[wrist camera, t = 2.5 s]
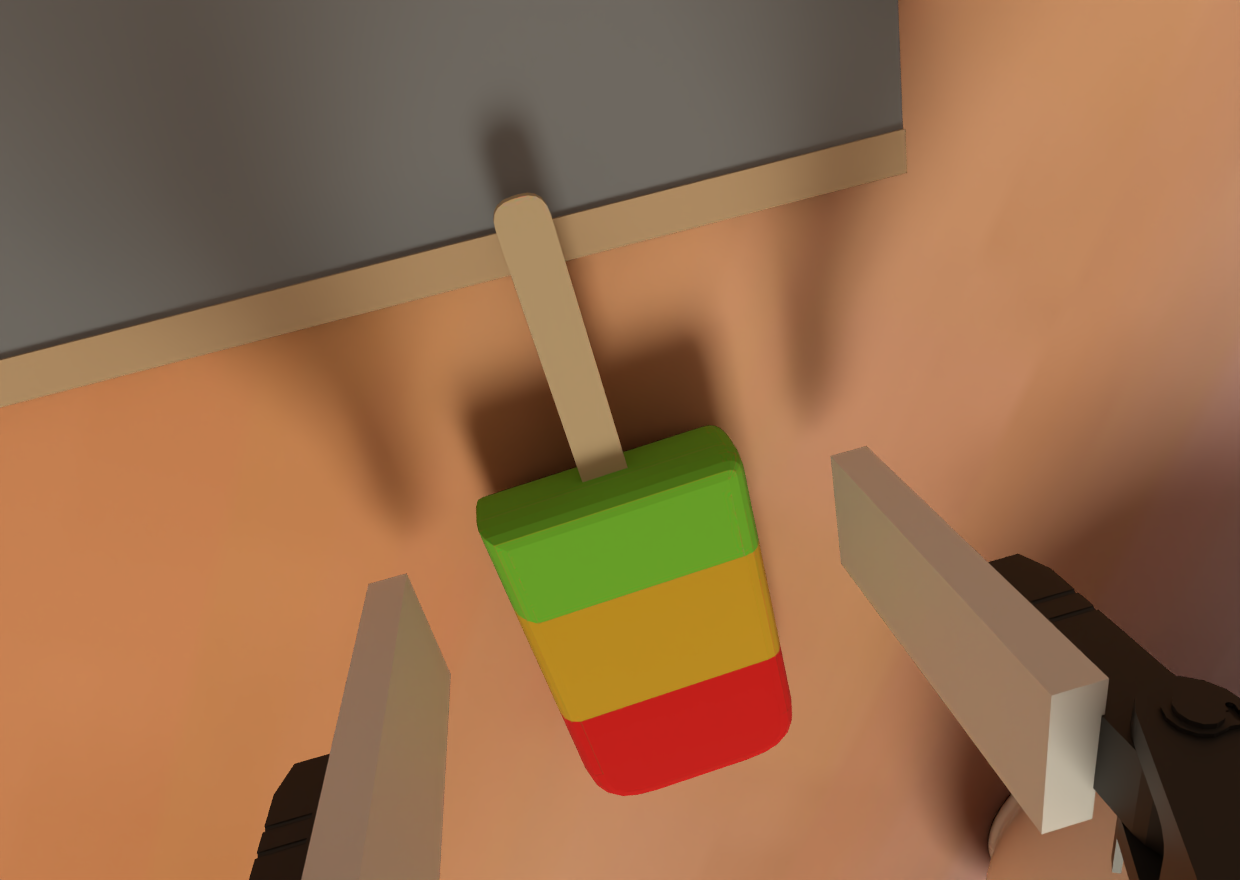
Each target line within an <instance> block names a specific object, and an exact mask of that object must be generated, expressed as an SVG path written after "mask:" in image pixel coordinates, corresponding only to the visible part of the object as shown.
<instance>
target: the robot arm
mask: <svg viewBox="0 0 1240 880" xmlns="http://www.w3.org/2000/svg"><path fill="white" fill-rule="evenodd" d="M831 465H832V475H833V485H834V496H835V506H836V516H837V527H838V537H839V547H840V557H841V564H842V565H843V566H844V568H845V569H846V571H847V572H848V573H849V575H850V576H851V577H852V579H853V580H854V581H855V583H856V584H857V585H858V587H859V588H860V589H861V591H862V592H863V594H864V595H865V596H866V598H867V599H868V600H869V602H870V603H871V604H872V606H873V607H874V608H875V610H876V611H877V612H878V614H879V615H880V617H881V618H882V619H883V621H884V622H885V623H886V625H887V626H888V627H889V629H890V630H891V631H892V633H893V634H894V635H895V637H896V638H897V640H898V641H899V642H900V644H901V645H902V646H903V648H904V649H905V650H906V652H907V653H908V654H909V656H910V657H911V658H912V660H913V661H914V663H915V664H916V665H917V667H918V668H919V669H920V671H921V672H922V673H923V675H924V676H925V677H926V679H927V680H928V681H929V683H930V684H931V686H932V687H933V688H934V690H935V691H936V692H937V694H938V695H939V696H940V698H941V699H942V700H943V702H944V703H945V704H946V706H947V707H948V709H949V710H950V711H951V713H952V714H953V715H954V717H955V718H956V719H957V721H958V722H959V723H960V725H961V726H962V727H963V729H964V730H965V732H966V733H967V734H968V736H969V737H970V738H971V740H972V741H973V742H974V744H975V745H976V746H977V748H978V749H979V750H980V752H981V753H982V755H983V756H984V757H985V759H986V760H987V761H988V763H989V764H990V765H991V767H992V768H993V769H994V771H995V772H996V773H997V775H998V776H999V778H1000V779H1001V780H1002V782H1003V783H1004V784H1005V786H1006V787H1007V788H1008V790H1009V791H1010V792H1011V794H1012V795H1013V796H1014V798H1015V799H1016V801H1017V802H1018V803H1019V805H1020V806H1021V807H1022V809H1023V810H1024V811H1025V813H1026V814H1027V815H1028V817H1029V818H1030V819H1031V821H1032V822H1033V824H1034V825H1035V826H1036V828H1037V829H1038V830H1039V832H1040V833H1041V834H1044V833H1048V832H1051V831H1054V830H1057V829H1061V828H1064V827H1067V826H1070V825H1074V824H1077V823H1080V822H1083V821H1087V820H1090V819H1092V817H1093V808H1094V800H1095V792H1097V793H1098V794H1099V796H1100V797H1101V798H1102V799H1103V800H1104V801H1105V803H1106V804H1107V805H1108V806H1109V807H1110V808H1111V809H1112V811H1113V812H1114V813H1115V814H1116V815H1117V820H1116V827H1115V834H1114V841H1113V848H1112V855H1111V863H1112V872H1113V873H1121V872H1122V866H1123V861H1124V865H1125V868H1126V871H1127V875H1128V878H1129V880H1240V698H1239V697H1237V696H1236V695H1234V694H1233V693H1231V692H1230V691H1228V690H1227V689H1224V688H1222V687H1219V686H1217V685H1214V684H1211V683H1209V682H1206V681H1204V680H1199V679H1193V678H1187V677H1181V676H1175V675H1174V674H1173V673H1171V672H1170V671H1169V670H1168V669H1166V668H1165V667H1164V666H1163V665H1162V664H1161V663H1159V662H1158V661H1157V660H1156V659H1155V658H1154V657H1152V656H1151V655H1150V654H1149V653H1148V652H1147V651H1146V650H1144V649H1143V648H1142V647H1141V646H1140V645H1139V644H1137V643H1136V642H1135V641H1134V640H1133V639H1132V638H1130V637H1129V636H1128V635H1127V634H1126V633H1125V632H1124V631H1122V630H1121V629H1120V628H1119V627H1118V626H1117V625H1115V624H1114V623H1113V622H1112V621H1111V620H1110V619H1108V618H1107V617H1106V616H1105V615H1104V614H1103V613H1101V612H1100V611H1099V610H1095V609H1094V607H1093V605H1092V604H1091V603H1090V602H1089V601H1088V600H1086V599H1085V598H1084V597H1083V596H1082V595H1081V594H1079V593H1075V591H1074V588H1073V587H1071V586H1070V585H1069V584H1068V583H1067V582H1066V581H1064V580H1063V579H1062V578H1061V577H1060V576H1059V575H1057V574H1056V573H1055V572H1054V571H1053V570H1052V569H1050V568H1049V567H1046V566H1044V565H1042V564H1040V563H1038V562H1035V561H1033V560H1031V559H1029V558H1026V557H1024V556H1022V555H1020V554H1015V555H1012V556H1008V557H1005V558H1002V559H998V560H995V561H991V562H987V561H986V560H985V559H984V558H983V557H982V556H981V555H980V554H979V553H978V552H977V551H976V550H974V549H973V548H972V547H971V546H970V545H969V544H968V543H967V542H966V541H965V540H964V539H963V538H962V537H961V536H960V535H959V534H958V533H957V532H956V531H955V530H954V529H953V528H951V527H950V526H949V525H948V524H947V523H946V522H945V521H944V520H943V519H942V518H941V517H940V516H939V515H938V514H937V513H936V512H935V511H934V510H933V509H932V508H931V507H930V506H929V505H927V504H926V503H925V502H924V501H923V500H922V499H921V498H920V497H919V496H918V495H917V494H916V493H915V492H914V491H913V490H912V489H911V488H910V487H909V486H908V485H907V484H906V483H904V482H903V481H902V480H901V479H900V478H899V477H898V476H897V475H896V474H895V473H894V472H893V471H892V470H891V469H890V468H889V467H888V466H887V465H886V464H885V463H884V462H883V461H882V460H880V459H879V458H878V457H877V456H876V455H875V454H874V453H873V452H872V451H871V450H870V449H869V448H868V447H867V446H865V447H861V448H857V449H854V450H850V451H847V452H843V453H839V454H836V455H832V456H831ZM450 679H451V674H450V672H449V669H448V667H447V665H446V662H445V660H444V658H443V656H442V653H441V651H440V649H439V646H438V644H437V642H436V639H435V637H434V635H433V633H432V630H431V628H430V626H429V623H428V621H427V619H426V617H425V614H424V612H423V610H422V607H421V605H420V603H419V601H418V598H417V596H416V594H415V591H414V589H413V587H412V584H411V582H410V580H409V578H408V575H407V573H406V574H403V575H399V576H396V577H392V578H388V579H385V580H381V581H377V582H374V583H370V584H368V589H367V593H366V597H365V602H364V606H363V611H362V615H361V619H360V624H359V628H358V633H357V637H356V641H355V646H354V650H353V655H352V659H351V663H350V668H349V672H348V677H347V681H346V685H345V690H344V694H343V698H342V703H341V707H340V712H339V716H338V720H337V725H336V729H335V734H334V738H333V742H332V747H331V751H330V754H327V755H324V756H320V757H317V758H313V759H310V760H307V761H303V762H300V763H296V764H294V765H293V767H292V768H291V770H290V771H289V773H288V774H287V776H286V777H285V779H284V780H283V782H282V783H281V785H280V786H279V788H278V789H277V791H276V792H275V794H274V796H273V799H272V803H271V806H270V810H269V813H268V817H267V820H266V823H265V832H264V833H263V834H262V837H261V840H260V844H259V847H258V851H257V854H258V858H257V859H255V861H254V864H253V868H252V871H251V875H250V878H249V880H439V879H440V861H441V842H442V824H443V806H444V788H445V770H446V751H447V733H448V715H449V697H450Z"/></svg>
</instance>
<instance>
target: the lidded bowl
mask: <svg viewBox="0 0 1240 880" xmlns="http://www.w3.org/2000/svg"><path fill="white" fill-rule="evenodd" d="M1116 820H1117V815H1116V814H1115V813H1114V812H1113V811H1112V809H1111V808H1110V807H1109V806H1108V805H1107V804H1106V803H1105V801H1104V800H1103V799H1102V798H1101V797H1100V796H1099V794H1098V793H1097V792H1095V800H1094V808H1093V817H1092V819H1090V820H1087V821H1083V822H1080V823H1077V824H1074V825H1070V826H1067V827H1064V828H1061V829H1057V830H1054V831H1051V832H1048V833H1044V834H1041V833H1040V832H1039V830H1038V829H1037V828H1036V826H1035V825H1034V824H1033V822H1032V821H1031V819H1030V818H1029V817H1028V815H1027V814H1026V813H1025V811H1024V810H1023V809H1022V807H1021V806H1020V805H1019V803H1018V802H1017V801H1016V799H1015V798H1014V796H1013V795H1012V794H1011V795H1010V796H1009V798H1008V799H1007V800H1006V801H1005V803H1004V804H1003V805H1002V807H1001V808H1000V810H999V812H998V813H997V815H996V817H995V819H994V821H993V824H992V826H991V829H990V832H989V838H988V852H989V855H990V858H991V861H990V864H989V868H988V872H987V877H986V880H1129V878H1128V875H1127V871H1126V868H1125V865H1124V861H1123V866H1122V872H1121V873H1113V872H1112V863H1111V855H1112V848H1113V841H1114V834H1115V827H1116Z"/></svg>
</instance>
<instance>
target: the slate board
mask: <svg viewBox="0 0 1240 880" xmlns="http://www.w3.org/2000/svg"><path fill="white" fill-rule="evenodd" d="M905 173H907V159H906V131H905V129H903V121H902V94H901V68H900V41H899V14H898V0H0V407H4V406H8V405H12V404H16V403H20V402H24V401H27V400H31V399H35V398H39V397H43V396H47V395H51V394H54V393H58V392H62V391H66V390H70V389H74V388H78V387H81V386H85V385H89V384H93V383H97V382H101V381H105V380H109V379H112V378H116V377H120V376H124V375H128V374H132V373H136V372H139V371H143V370H147V369H151V368H155V367H159V366H163V365H166V364H170V363H174V362H178V361H182V360H186V359H190V358H194V357H197V356H201V355H205V354H209V353H213V352H217V351H221V350H224V349H228V348H232V347H236V346H240V345H244V344H248V343H251V342H255V341H259V340H263V339H267V338H271V337H275V336H279V335H282V334H286V333H290V332H294V331H298V330H302V329H306V328H309V327H313V326H317V325H321V324H325V323H329V322H333V321H337V320H340V319H344V318H348V317H352V316H356V315H360V314H364V313H367V312H371V311H375V310H379V309H383V308H387V307H391V306H394V305H398V304H402V303H406V302H410V301H414V300H418V299H422V298H425V297H429V296H433V295H437V294H441V293H445V292H449V291H452V290H456V289H460V288H464V287H468V286H472V285H476V284H479V283H483V282H487V281H491V280H495V279H499V278H503V277H507V276H510V275H511V274H510V271H509V268H508V265H507V262H506V260H505V257H504V254H503V251H502V248H501V245H500V242H499V239H498V236H497V233H496V230H495V225H494V220H493V217H494V210H495V208H496V206H497V205H498V204H499V203H500V202H501V201H502V200H504V199H506V198H509V197H511V196H514V195H517V194H522V193H535V194H536V195H538V196H540V197H541V198H542V199H543V200H544V201H545V203H546V204H547V206H548V209H549V211H550V214H551V216H552V220H553V223H554V226H555V230H556V233H557V236H558V239H559V243H560V246H561V249H562V253H563V256H564V259H565V261H568V260H572V259H576V258H580V257H584V256H588V255H592V254H595V253H599V252H603V251H607V250H611V249H615V248H619V247H622V246H626V245H630V244H634V243H638V242H642V241H646V240H649V239H653V238H657V237H661V236H665V235H669V234H673V233H677V232H680V231H684V230H688V229H692V228H696V227H700V226H704V225H707V224H711V223H715V222H719V221H723V220H727V219H731V218H734V217H738V216H742V215H746V214H750V213H754V212H758V211H762V210H765V209H769V208H773V207H777V206H781V205H785V204H789V203H792V202H796V201H800V200H804V199H808V198H812V197H816V196H819V195H823V194H827V193H831V192H835V191H839V190H843V189H847V188H850V187H854V186H858V185H862V184H866V183H870V182H874V181H877V180H881V179H885V178H889V177H893V176H897V175H901V174H905Z"/></svg>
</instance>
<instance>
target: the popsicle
mask: <svg viewBox="0 0 1240 880" xmlns="http://www.w3.org/2000/svg"><path fill="white" fill-rule="evenodd" d="M493 220H494V225H495V230H496V233H497V236H498V239H499V242H500V245H501V248H502V251H503V254H504V257H505V260H506V262H507V265H508V268H509V271H510V274H511V277H512V280H513V283H514V286H515V289H516V291H517V294H518V297H519V300H520V303H521V306H522V309H523V312H524V315H525V318H526V320H527V323H528V326H529V329H530V332H531V335H532V338H533V341H534V344H535V347H536V349H537V352H538V355H539V358H540V361H541V364H542V367H543V370H544V373H545V376H546V378H547V381H548V384H549V387H550V390H551V393H552V396H553V399H554V402H555V405H556V407H557V410H558V413H559V416H560V419H561V422H562V425H563V428H564V431H565V434H566V436H567V439H568V442H569V445H570V448H571V451H572V454H573V457H574V460H575V463H576V465H577V467H575V468H572V469H569V470H566V471H563V472H560V473H557V474H554V475H551V476H547V477H544V478H541V479H538V480H535V481H532V482H529V483H526V484H522V485H519V486H516V487H513V488H510V489H507V490H504V491H501V492H498V493H494V494H491V495H488V496H485V497H482V498H481V499H479V500H478V502H477V506H476V518H477V526H478V531H479V533H480V535H481V538H482V540H483V542H484V544H485V546H486V549H487V551H488V553H489V555H490V558H491V560H492V562H493V564H494V566H495V569H496V571H497V573H498V575H499V577H500V580H501V582H502V584H503V586H504V589H505V591H506V593H507V595H508V597H509V600H510V602H511V604H512V606H513V608H514V611H515V613H516V615H517V617H518V620H519V622H520V624H521V626H522V628H523V631H524V633H525V635H526V637H527V640H528V642H529V644H530V646H531V648H532V651H533V653H534V655H535V657H536V659H537V662H538V664H539V666H540V668H541V671H542V673H543V675H544V677H545V679H546V682H547V684H548V686H549V688H550V690H551V693H552V695H553V697H554V699H555V702H556V704H557V706H558V708H559V710H560V713H561V715H562V717H563V719H564V721H565V724H566V726H567V728H568V730H569V733H570V735H571V737H572V739H573V741H574V744H575V746H576V748H577V750H578V752H579V755H580V757H581V759H582V761H583V764H584V766H585V768H586V769H587V771H588V772H589V774H590V775H591V777H592V778H593V780H594V781H595V782H596V784H597V785H598V786H599V787H601V788H602V789H604V790H605V791H607V792H608V793H613V794H617V795H622V796H628V795H638V794H642V793H646V792H650V791H654V790H658V789H660V788H663V787H666V786H669V785H672V784H675V783H678V782H681V781H684V780H687V779H690V778H693V777H696V776H699V775H702V774H705V773H708V772H711V771H714V770H717V769H720V768H723V767H726V766H729V765H732V764H735V763H738V762H741V761H744V760H747V759H749V758H752V757H754V756H756V755H759V754H761V753H764V752H766V751H767V750H769V749H770V748H772V747H774V746H775V745H777V744H778V743H779V742H780V740H781V739H782V738H783V737H784V736H785V735H786V733H787V732H788V730H789V727H790V724H791V720H792V706H791V696H790V691H789V686H788V681H787V676H786V671H785V666H784V662H783V657H782V652H781V647H780V642H779V637H778V632H777V628H776V623H775V618H774V613H773V608H772V603H771V598H770V594H769V589H768V584H767V579H766V574H765V569H764V564H763V559H762V555H761V550H760V545H759V540H758V535H757V530H756V525H755V521H754V516H753V511H752V506H751V501H750V496H749V491H748V487H747V482H746V477H745V472H744V467H743V463H742V461H741V458H740V456H739V453H738V451H737V449H736V447H735V446H734V444H733V443H732V441H731V440H730V438H729V437H728V436H727V434H726V433H725V432H724V431H723V430H721V429H720V428H719V427H716V426H711V425H708V426H703V427H700V428H697V429H694V430H691V431H687V432H684V433H681V434H678V435H675V436H672V437H669V438H666V439H663V440H659V441H656V442H653V443H650V444H647V445H644V446H641V447H638V448H635V449H631V450H628V451H625V452H623V451H622V447H621V444H620V441H619V438H618V434H617V431H616V428H615V424H614V421H613V418H612V414H611V411H610V408H609V405H608V401H607V398H606V395H605V391H604V388H603V385H602V381H601V378H600V375H599V372H598V368H597V365H596V362H595V358H594V355H593V352H592V348H591V345H590V342H589V339H588V335H587V332H586V329H585V325H584V322H583V319H582V315H581V312H580V309H579V305H578V302H577V299H576V296H575V292H574V289H573V286H572V282H571V279H570V276H569V272H568V269H567V266H566V263H565V259H564V256H563V253H562V249H561V246H560V243H559V239H558V236H557V233H556V230H555V226H554V223H553V220H552V216H551V214H550V211H549V209H548V206H547V204H546V203H545V201H544V200H543V199H542V198H541V197H540V196H538V195H536V194H535V193H522V194H517V195H514V196H511V197H509V198H506V199H504V200H502V201H501V202H500V203H499V204H498V205H497V206H496V208H495V210H494V217H493Z"/></svg>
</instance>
